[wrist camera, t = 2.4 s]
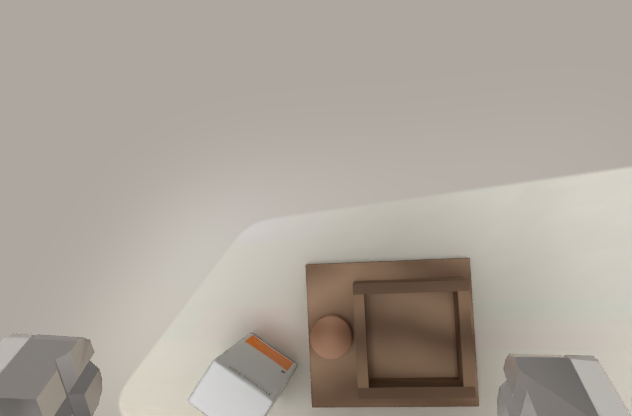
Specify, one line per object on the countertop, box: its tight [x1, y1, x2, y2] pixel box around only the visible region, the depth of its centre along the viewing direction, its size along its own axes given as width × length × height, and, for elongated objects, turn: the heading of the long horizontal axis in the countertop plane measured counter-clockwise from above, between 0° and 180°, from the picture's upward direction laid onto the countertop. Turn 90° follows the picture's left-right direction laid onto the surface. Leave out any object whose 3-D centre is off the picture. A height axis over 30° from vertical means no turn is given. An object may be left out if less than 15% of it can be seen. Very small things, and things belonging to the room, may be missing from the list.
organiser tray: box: [306, 258, 479, 407], centre depth 48 cm, size 14×16×4 cm
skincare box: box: [188, 333, 297, 416], centre depth 46 cm, size 6×4×12 cm
